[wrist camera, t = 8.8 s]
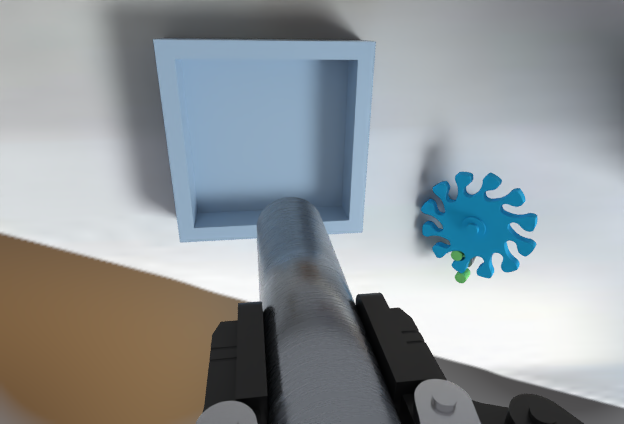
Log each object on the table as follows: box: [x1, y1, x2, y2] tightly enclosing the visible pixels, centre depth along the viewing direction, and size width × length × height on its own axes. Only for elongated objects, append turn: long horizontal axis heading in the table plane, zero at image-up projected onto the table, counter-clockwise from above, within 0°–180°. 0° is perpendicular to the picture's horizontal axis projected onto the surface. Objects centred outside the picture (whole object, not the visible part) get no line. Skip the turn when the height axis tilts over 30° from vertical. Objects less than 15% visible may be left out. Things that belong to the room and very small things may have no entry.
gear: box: [421, 172, 537, 283], centre depth 38 cm, size 11×6×10 cm
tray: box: [153, 38, 376, 242], centre depth 33 cm, size 15×15×4 cm
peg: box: [257, 197, 402, 424], centre depth 13 cm, size 3×3×12 cm
